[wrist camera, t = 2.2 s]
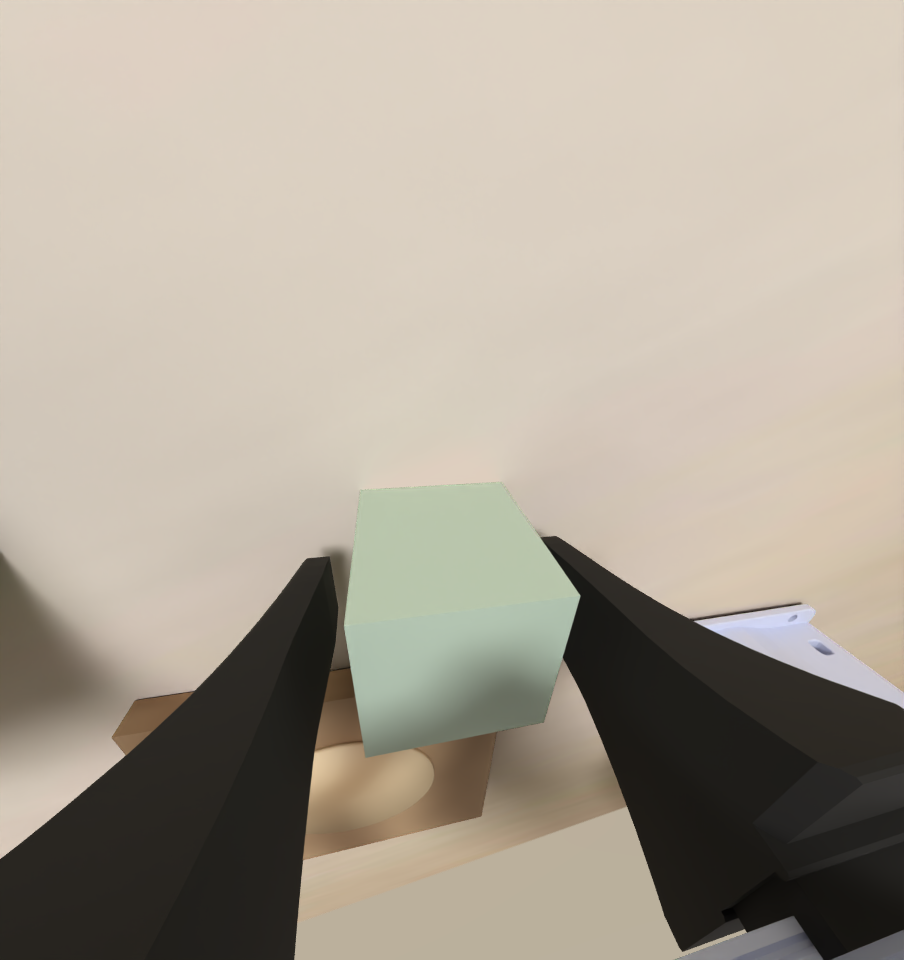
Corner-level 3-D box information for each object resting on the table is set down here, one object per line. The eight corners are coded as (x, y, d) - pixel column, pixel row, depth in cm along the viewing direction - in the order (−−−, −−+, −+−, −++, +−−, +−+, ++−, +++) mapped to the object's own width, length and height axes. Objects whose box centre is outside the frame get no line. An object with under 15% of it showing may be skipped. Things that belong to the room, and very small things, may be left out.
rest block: (501, 481, 11) (580, 595, 7) (489, 582, 13) (543, 722, 9) (360, 488, 10) (344, 626, 6) (371, 596, 12) (365, 757, 8)
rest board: (498, 645, 15) (509, 676, 13) (476, 790, 21) (482, 820, 20) (134, 700, 12) (107, 744, 11) (234, 846, 18) (224, 884, 17)
